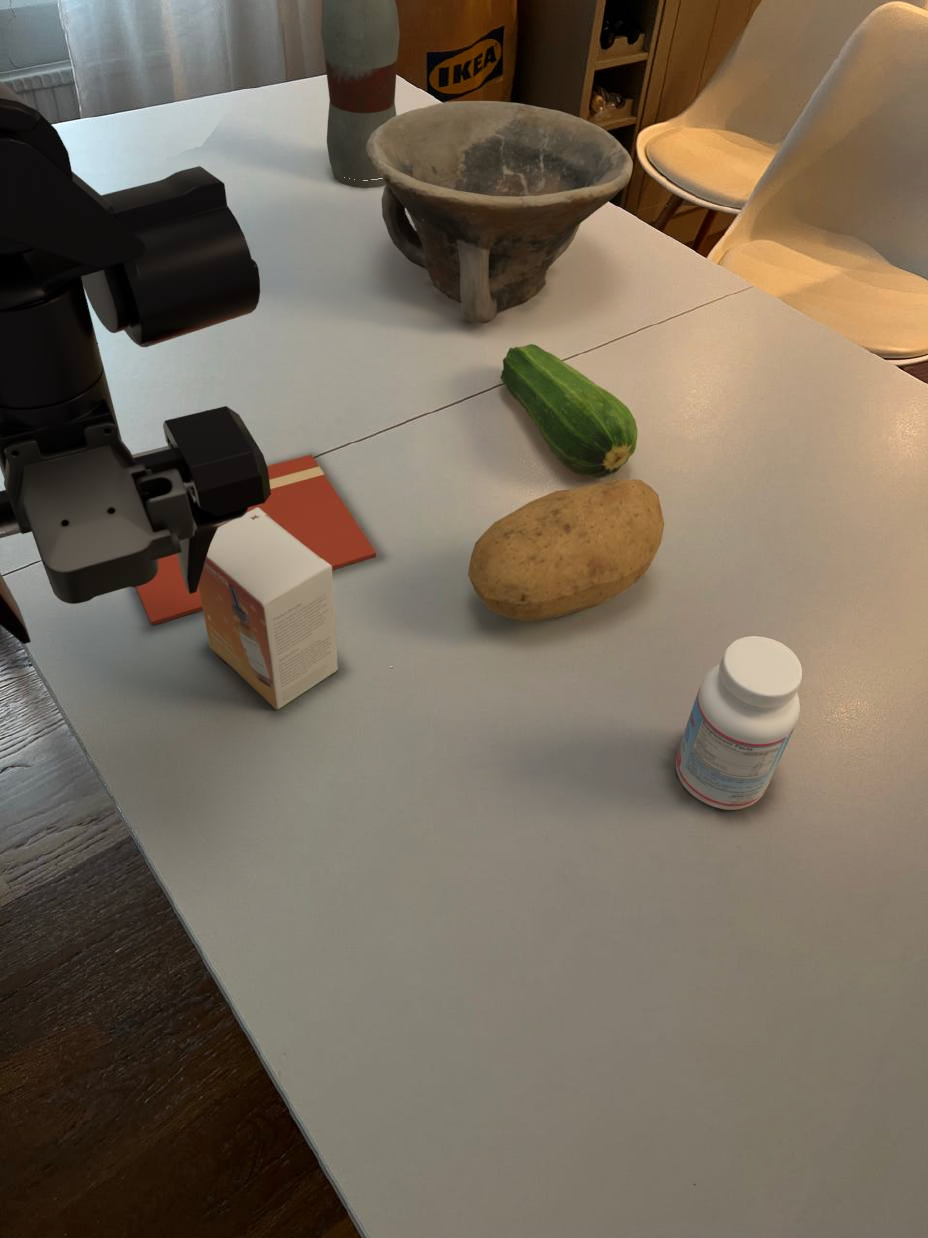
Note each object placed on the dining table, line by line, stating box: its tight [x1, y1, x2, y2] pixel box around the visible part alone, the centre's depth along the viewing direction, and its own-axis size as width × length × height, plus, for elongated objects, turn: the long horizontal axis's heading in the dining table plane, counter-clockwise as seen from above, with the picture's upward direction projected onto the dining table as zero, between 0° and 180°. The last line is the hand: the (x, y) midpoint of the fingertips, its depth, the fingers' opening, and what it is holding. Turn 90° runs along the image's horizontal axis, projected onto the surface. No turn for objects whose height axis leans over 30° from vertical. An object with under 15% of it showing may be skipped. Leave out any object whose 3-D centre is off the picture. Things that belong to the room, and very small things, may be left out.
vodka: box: [320, 0, 401, 189], centre depth 119 cm, size 9×9×30 cm
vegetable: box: [499, 343, 638, 479], centre depth 90 cm, size 7×7×20 cm
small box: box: [198, 507, 339, 710], centre depth 68 cm, size 8×6×10 cm
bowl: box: [366, 100, 634, 324], centre depth 106 cm, size 27×26×15 cm
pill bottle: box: [675, 635, 803, 811], centre depth 62 cm, size 6×6×11 cm
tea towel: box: [135, 454, 377, 626], centre depth 81 cm, size 18×14×1 cm
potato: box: [467, 478, 665, 622], centre depth 74 cm, size 9×16×9 cm, turn 113°
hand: (110, 612), depth 57 cm, fingers open, 9 cm apart
